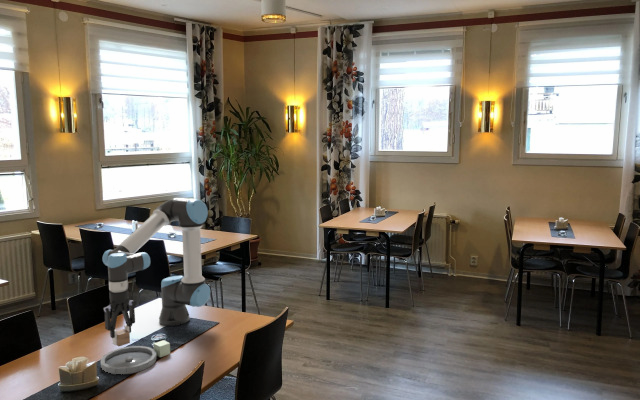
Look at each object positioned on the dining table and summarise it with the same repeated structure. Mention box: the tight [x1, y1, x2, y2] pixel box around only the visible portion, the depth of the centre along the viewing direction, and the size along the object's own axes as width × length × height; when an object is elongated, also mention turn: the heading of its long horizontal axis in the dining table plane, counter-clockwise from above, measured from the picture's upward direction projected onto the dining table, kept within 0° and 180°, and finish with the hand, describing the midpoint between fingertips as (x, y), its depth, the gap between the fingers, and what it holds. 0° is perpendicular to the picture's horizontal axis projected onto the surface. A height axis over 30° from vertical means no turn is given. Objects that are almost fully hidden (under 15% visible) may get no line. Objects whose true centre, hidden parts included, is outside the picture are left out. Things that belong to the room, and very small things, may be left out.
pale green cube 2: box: [153, 339, 171, 358], centre depth 230 cm, size 5×5×5 cm
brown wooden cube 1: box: [116, 328, 131, 347], centre depth 224 cm, size 5×5×5 cm
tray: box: [100, 345, 158, 375], centre depth 221 cm, size 22×22×3 cm
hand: (121, 342), depth 224 cm, fingers closed on brown wooden cube 1, 5 cm apart
